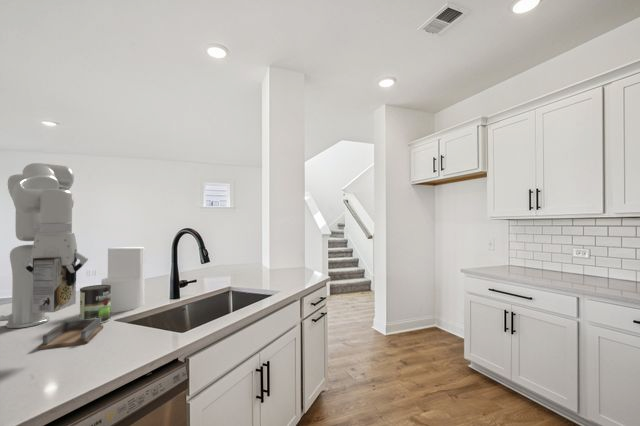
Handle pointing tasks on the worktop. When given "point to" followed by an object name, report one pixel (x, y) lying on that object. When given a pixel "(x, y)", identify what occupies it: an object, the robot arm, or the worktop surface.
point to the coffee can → (95, 302)
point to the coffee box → (51, 286)
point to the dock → (72, 333)
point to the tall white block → (126, 277)
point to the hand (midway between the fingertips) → (55, 285)
